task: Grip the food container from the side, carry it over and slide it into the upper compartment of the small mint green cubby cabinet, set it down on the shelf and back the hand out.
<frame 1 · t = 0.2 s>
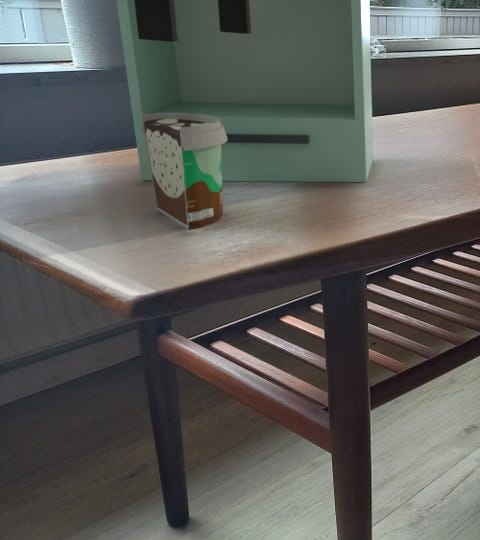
hand: (201, 36, 59), 18 cm above the table, tool pointing down, fingers open, 13 cm apart
food container: (202, 216, 73), on the table
mint green cubby cabinet: (268, 168, 95), on the table
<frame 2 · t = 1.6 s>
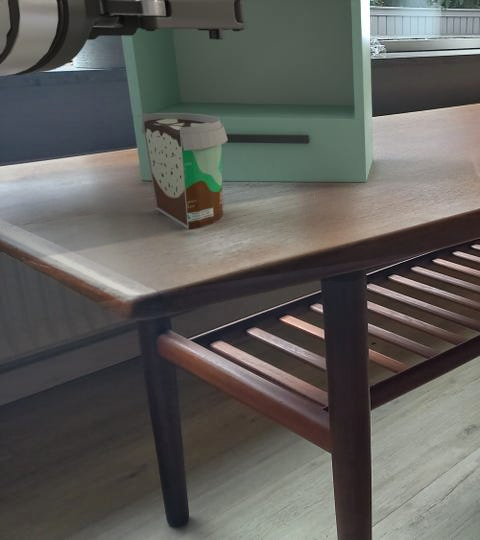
hand: (137, 10, 56), 20 cm above the table, tool horizontal, fingers open, 13 cm apart
nothing on the table moved.
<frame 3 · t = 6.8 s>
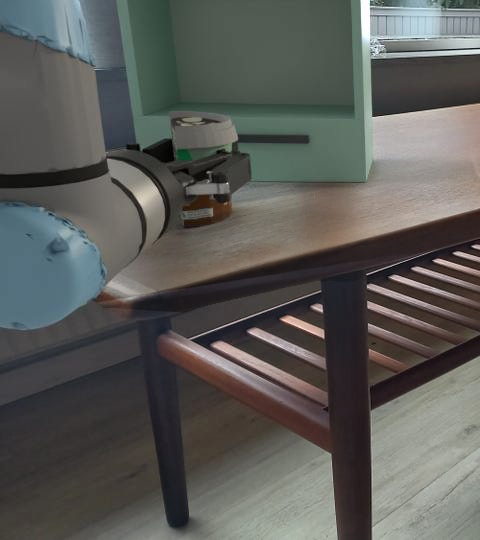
hand: (202, 151, 74), 6 cm above the table, tool horizontal, fingers closed on food container, 6 cm apart
food container: (212, 215, 73), on the table, touching gripper
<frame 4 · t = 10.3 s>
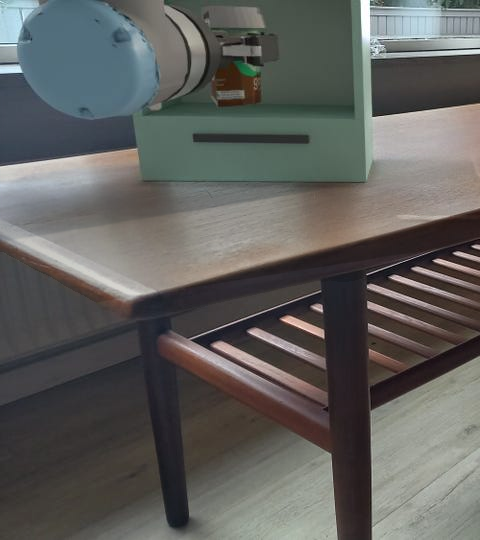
hand: (232, 43, 78), 17 cm above the table, tool horizontal, fingers closed on food container, 6 cm apart
food container: (243, 103, 78), point 11 cm above the table, touching gripper
when the fingers open (14 cm above the table, at t = 14.2 s): food container stays where it is, resting on mint green cubby cabinet.
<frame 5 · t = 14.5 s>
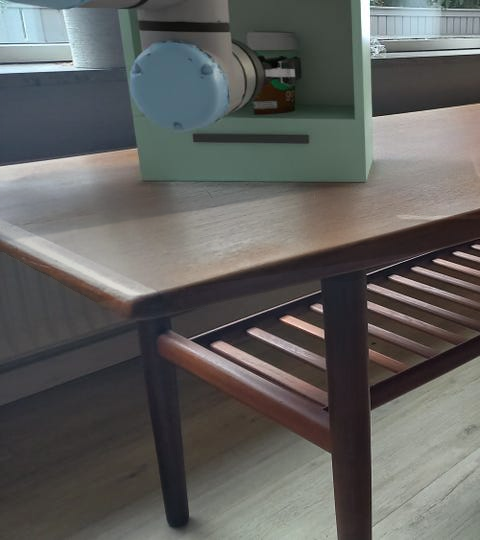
hand: (265, 63, 94), 14 cm above the table, tool horizontal, fingers open, 5 cm apart
food container: (280, 111, 93), point 8 cm above the table, touching mint green cubby cabinet
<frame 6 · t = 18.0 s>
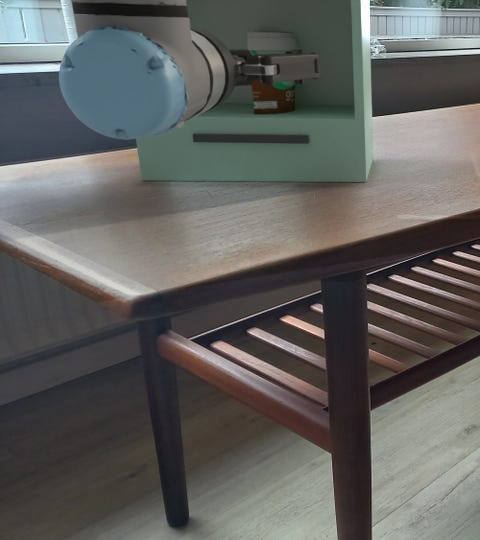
hand: (239, 60, 80), 15 cm above the table, tool horizontal, fingers open, 13 cm apart
nothing on the table moved.
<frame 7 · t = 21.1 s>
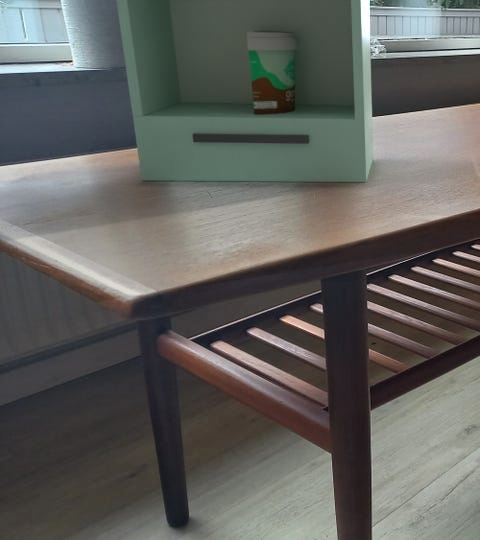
nothing on the table moved.
at the end: food container inside the target area on the mint green cubby cabinet (2.3 cm from its centre), point 7.8 cm above the mint green cubby cabinet's base; food container tilted 0°; the gripper is holding nothing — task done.
